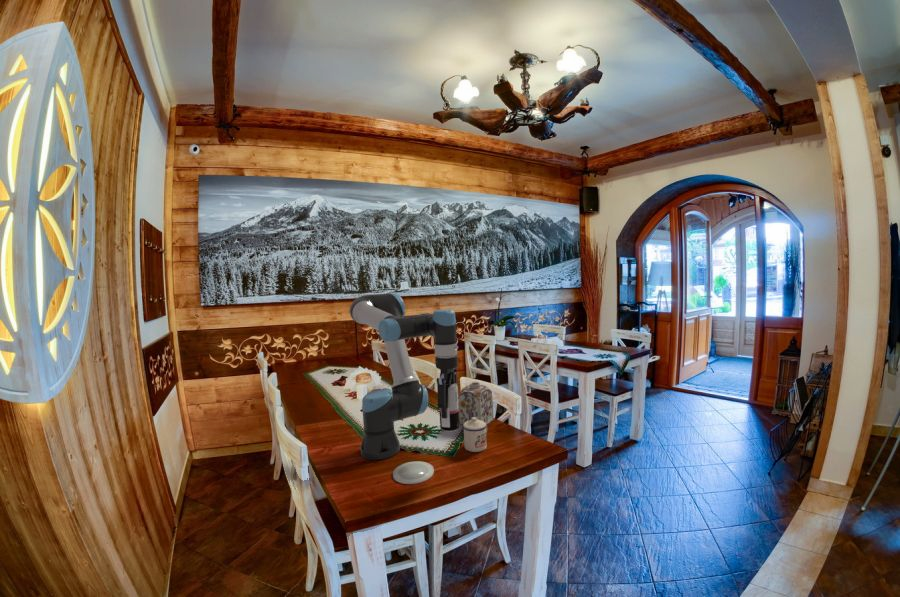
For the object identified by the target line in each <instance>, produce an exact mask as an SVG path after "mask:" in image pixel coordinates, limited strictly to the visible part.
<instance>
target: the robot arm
mask: <svg viewBox="0 0 900 597" xmlns="http://www.w3.org/2000/svg"><path fill="white" fill-rule="evenodd" d="M349 316H350V318H351V320H353V321H354V322H356V323H358V324H360V325H365V326H368V327H369V328H372V329H374V330H376V331H377V332H378V334H379V335H378V336H379V338H380V339H381V341H384V345H385V346H384V347H385V351H386V355H387V360H388V363H389V368H390V373H391V376H392V380H393V384H392V385H391V389H390V388H385V387H384V388H377V389H374V390H372V391H369V392H368V393H366V394H365V395H364V396H363V398H362V400H361V401H362V402H361V403H362V404H361V405H362V406H361V410H362V422H363V437H362V440H361V445H360V455H361V457H362V458H363V459H366V460H370V461H372V460H373V461H378V460H379V461H380V460H385V459H388V458H391V457H392V458H393V457H394V456H396V455H397V454H398V453H399V452H400V450H401V445H400V440H399V438H398V435H397V433H396V430H395V422H398V421H401V420H405V419H409V418H413V417H416V416H418V415H422V414H423V413H425V412H426V411H427V408H428V405H429V393H428V390H427V388H426V385H424V384H421V383H420V382H419V381H420V380H419V379H418V378H416V377H415V375H414V372H413V368H412V364H411V360H410V356H409V353H408V348H407V344H406V340H407V339H408V340H409V339H413V338H414V339H415V338H419V337H421V338H422V337H427V336H428V337H429V336H430V337H433V338H434V343H433V344H434V355H435V358H434V359H435V362H434V363H435V368H436V369H438V370H440V372H439V377H436V385H437V386H436V388H437V392H436V393H437V409H439V408H441V423H442V427H450V415H449V407H448V388H449V387H450V386H451V384H454V383H456V384H457V386H458V387H459V385H458V376H457V375H458V369H457V367H458V366H459V360H458V359H459V357H458V355H457V354H458V349H459V346H458V342H457V338H458V337H457V319H456V312H455V310H454V309H446V308H445V309H437V310H434V311H433V313H420V314H418V315H411V316H409V315H408V316H406V306H405V301H404V300H403V298H402V297H401V296H400V294H398V293H396V292H393V293H391V292H386V293H379V294H376V293H374V294H364V295H360V296H358V297H357V298H355V299H354V300H353V301H352V302H351V304H350V307H349ZM446 384H448V385H446ZM458 400H459V396H458Z"/></svg>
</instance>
